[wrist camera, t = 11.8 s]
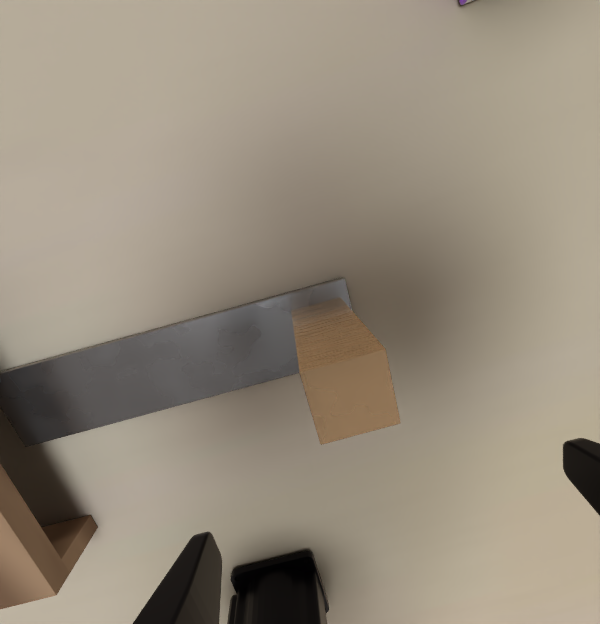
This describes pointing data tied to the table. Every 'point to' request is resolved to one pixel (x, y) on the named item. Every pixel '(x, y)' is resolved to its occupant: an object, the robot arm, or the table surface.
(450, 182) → the table surface
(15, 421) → the try square
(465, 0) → the candy box
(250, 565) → the robot arm
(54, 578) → the walnut plinth
